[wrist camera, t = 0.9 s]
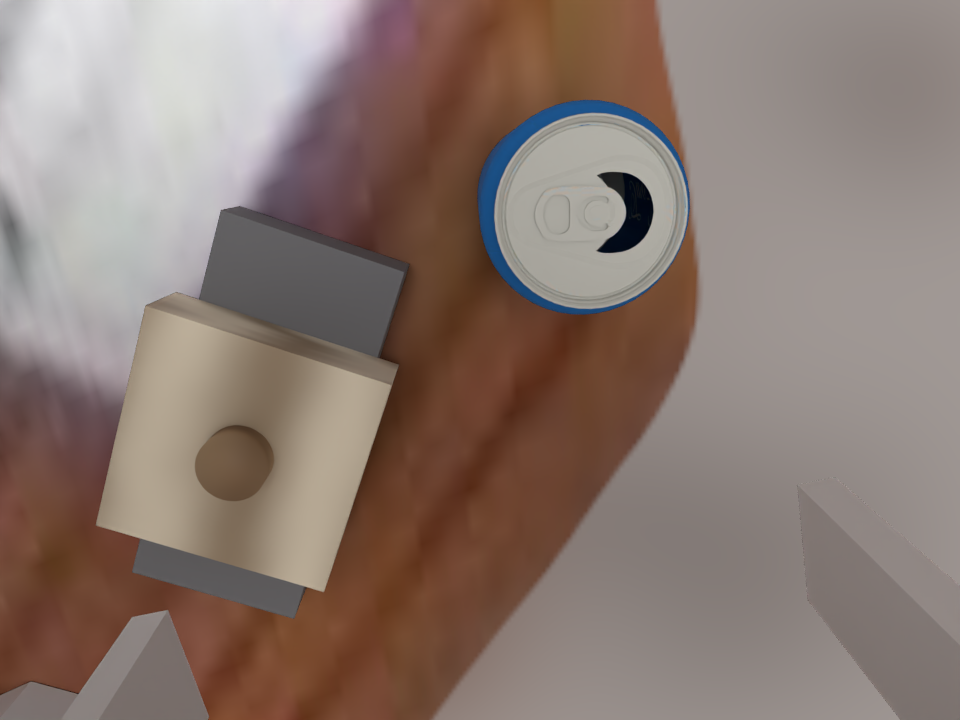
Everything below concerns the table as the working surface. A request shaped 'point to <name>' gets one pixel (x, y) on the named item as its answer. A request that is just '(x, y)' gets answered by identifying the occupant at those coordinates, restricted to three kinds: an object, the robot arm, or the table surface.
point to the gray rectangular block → (297, 306)
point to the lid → (242, 440)
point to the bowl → (35, 703)
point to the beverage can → (583, 206)
